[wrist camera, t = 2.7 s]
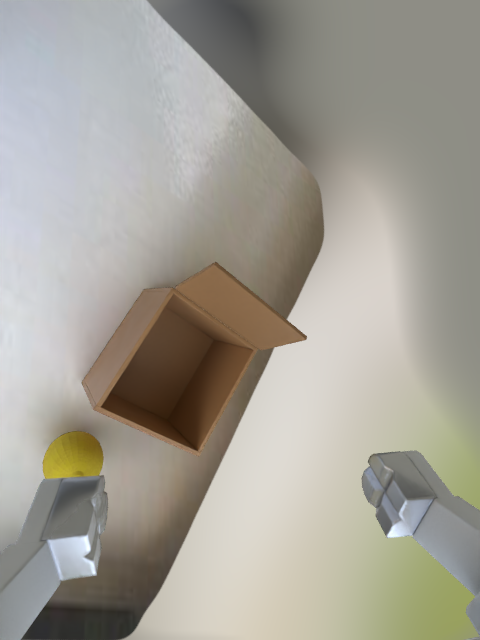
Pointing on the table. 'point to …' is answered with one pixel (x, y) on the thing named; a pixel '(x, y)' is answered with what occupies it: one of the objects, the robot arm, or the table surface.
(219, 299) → the flap
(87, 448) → the lemon
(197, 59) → the table surface
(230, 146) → the table surface
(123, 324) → the carton
